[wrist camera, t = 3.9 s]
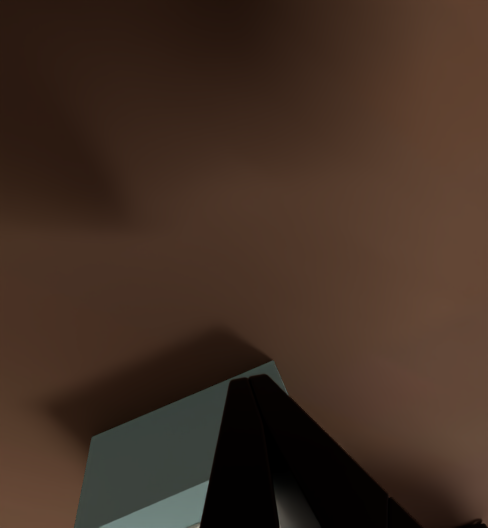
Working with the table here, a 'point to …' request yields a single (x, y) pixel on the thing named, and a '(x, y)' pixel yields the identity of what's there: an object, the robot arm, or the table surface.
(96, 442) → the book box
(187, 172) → the table surface
